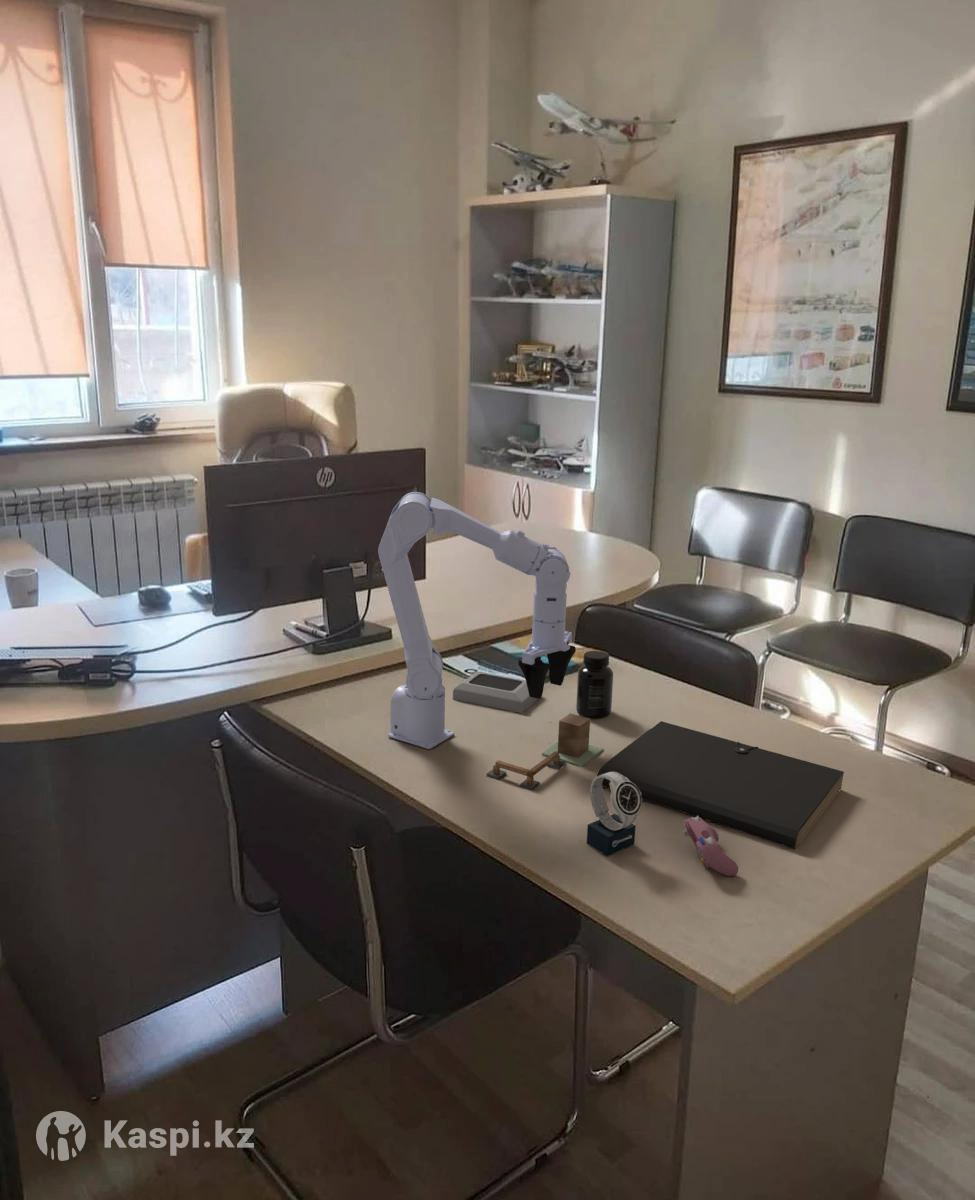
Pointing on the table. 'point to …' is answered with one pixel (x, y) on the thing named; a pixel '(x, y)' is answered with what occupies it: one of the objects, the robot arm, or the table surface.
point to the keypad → (495, 692)
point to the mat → (579, 761)
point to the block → (573, 735)
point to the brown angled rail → (529, 783)
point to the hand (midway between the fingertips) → (545, 690)
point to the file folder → (727, 782)
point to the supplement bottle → (594, 686)
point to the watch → (613, 829)
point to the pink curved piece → (709, 846)
